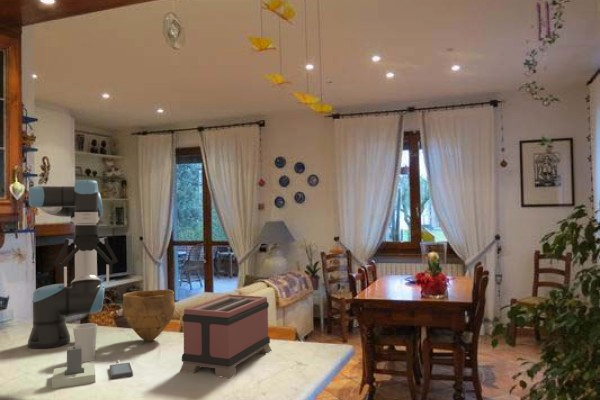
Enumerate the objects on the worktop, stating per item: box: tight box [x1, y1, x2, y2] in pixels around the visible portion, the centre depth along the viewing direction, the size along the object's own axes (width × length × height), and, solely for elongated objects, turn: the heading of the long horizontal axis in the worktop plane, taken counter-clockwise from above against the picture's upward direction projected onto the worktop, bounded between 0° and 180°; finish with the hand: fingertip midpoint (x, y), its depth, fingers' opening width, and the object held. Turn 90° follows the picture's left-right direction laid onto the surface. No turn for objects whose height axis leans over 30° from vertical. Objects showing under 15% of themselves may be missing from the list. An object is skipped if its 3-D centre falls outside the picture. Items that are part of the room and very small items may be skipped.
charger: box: [66, 345, 83, 375], centre depth 155 cm, size 4×4×10 cm
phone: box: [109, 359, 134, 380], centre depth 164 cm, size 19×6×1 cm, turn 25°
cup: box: [72, 322, 98, 363], centre depth 175 cm, size 8×8×12 cm
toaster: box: [179, 293, 273, 379], centre depth 173 cm, size 19×34×21 cm, turn 158°
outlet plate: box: [51, 362, 96, 389], centre depth 155 cm, size 12×12×3 cm
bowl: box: [122, 289, 176, 342], centre depth 198 cm, size 21×20×20 cm
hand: (86, 284), depth 170 cm, fingers open, 13 cm apart
